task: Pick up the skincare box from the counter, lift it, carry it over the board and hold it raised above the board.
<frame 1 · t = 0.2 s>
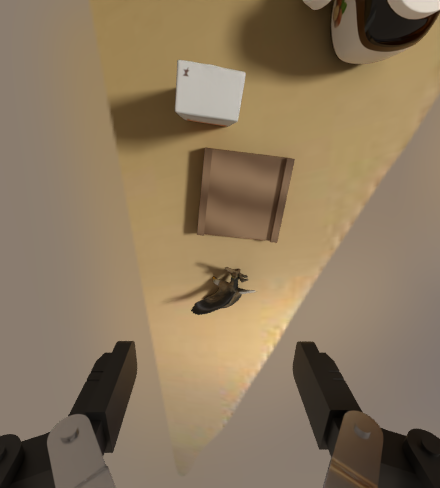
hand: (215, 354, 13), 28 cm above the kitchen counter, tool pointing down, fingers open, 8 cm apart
eagle figurine: (222, 284, 44), on the kitchen counter
board: (241, 195, 39), on the kitchen counter
spread jar: (344, 12, 32), on the kitchen counter
skincare box: (208, 107, 35), on the kitchen counter
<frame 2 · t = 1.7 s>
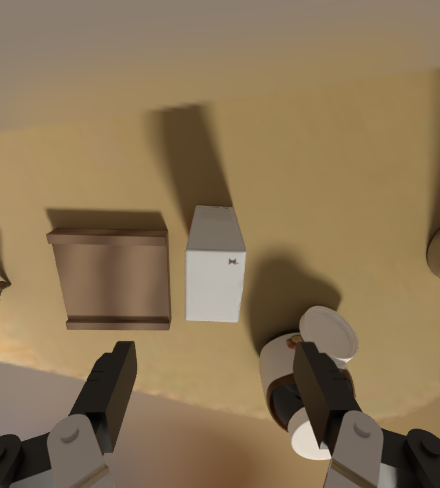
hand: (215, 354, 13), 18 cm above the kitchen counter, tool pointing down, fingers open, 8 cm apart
board: (118, 277, 31), on the kitchen counter
spread jar: (297, 337, 36), on the kitchen counter
skincare box: (212, 231, 30), on the kitchen counter
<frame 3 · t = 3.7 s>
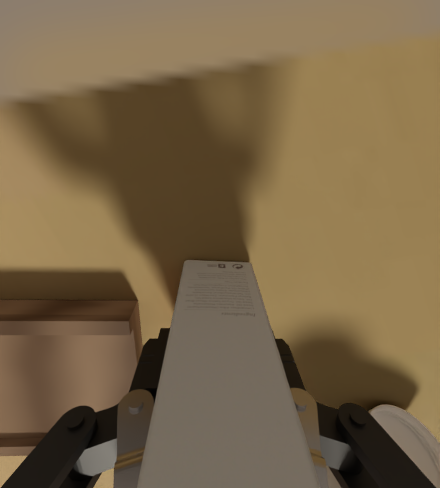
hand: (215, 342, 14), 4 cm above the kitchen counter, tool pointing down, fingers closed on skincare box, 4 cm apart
board: (60, 370, 19), on the kitchen counter
spread jar: (344, 441, 24), on the kitchen counter
skincare box: (214, 299, 18), on the kitchen counter, touching gripper
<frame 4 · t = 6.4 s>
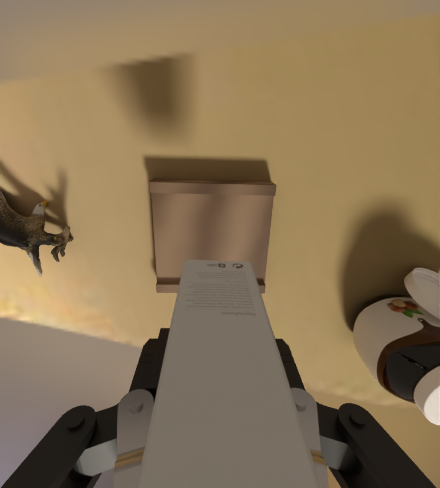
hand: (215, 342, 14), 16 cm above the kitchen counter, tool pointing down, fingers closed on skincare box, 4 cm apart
eagle figurine: (38, 216, 28), on the kitchen counter
board: (212, 235, 29), on the kitchen counter
spread jar: (390, 304, 34), on the kitchen counter
skincare box: (214, 298, 18), point 12 cm above the kitchen counter, touching gripper
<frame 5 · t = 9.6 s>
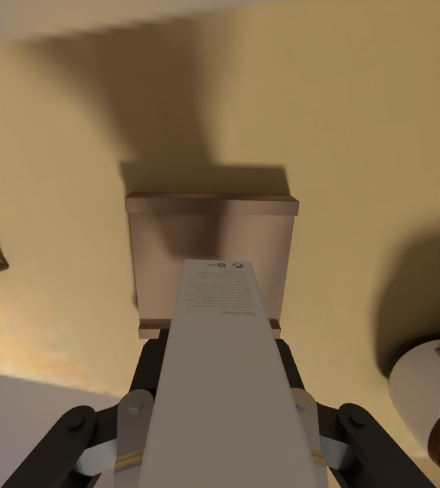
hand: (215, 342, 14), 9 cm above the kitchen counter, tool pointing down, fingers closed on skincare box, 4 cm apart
board: (211, 264, 22), on the kitchen counter
spread jar: (434, 344, 27), on the kitchen counter
skincare box: (214, 298, 18), point 5 cm above the kitchen counter, touching gripper
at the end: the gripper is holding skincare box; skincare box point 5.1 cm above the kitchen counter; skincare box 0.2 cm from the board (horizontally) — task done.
